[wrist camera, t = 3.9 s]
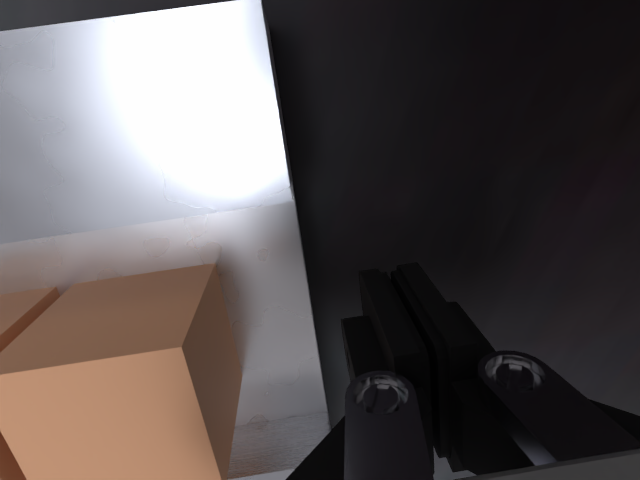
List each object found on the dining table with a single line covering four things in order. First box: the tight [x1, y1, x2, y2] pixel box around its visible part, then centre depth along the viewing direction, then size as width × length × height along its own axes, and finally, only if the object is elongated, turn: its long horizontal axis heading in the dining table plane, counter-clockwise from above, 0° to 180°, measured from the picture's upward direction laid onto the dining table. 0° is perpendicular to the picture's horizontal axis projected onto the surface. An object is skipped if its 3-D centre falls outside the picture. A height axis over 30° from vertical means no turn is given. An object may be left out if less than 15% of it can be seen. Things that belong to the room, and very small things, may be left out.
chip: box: [0, 263, 242, 480], centre depth 10 cm, size 4×4×4 cm
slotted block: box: [0, 0, 331, 480], centre depth 12 cm, size 14×16×4 cm
